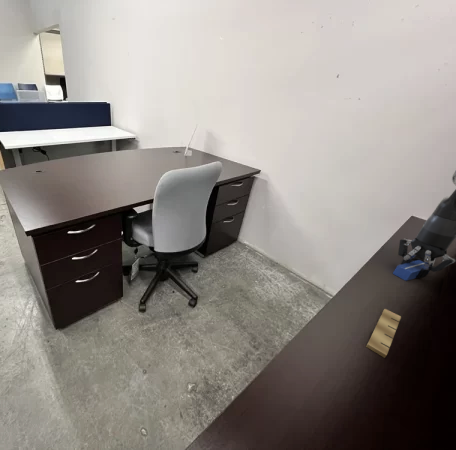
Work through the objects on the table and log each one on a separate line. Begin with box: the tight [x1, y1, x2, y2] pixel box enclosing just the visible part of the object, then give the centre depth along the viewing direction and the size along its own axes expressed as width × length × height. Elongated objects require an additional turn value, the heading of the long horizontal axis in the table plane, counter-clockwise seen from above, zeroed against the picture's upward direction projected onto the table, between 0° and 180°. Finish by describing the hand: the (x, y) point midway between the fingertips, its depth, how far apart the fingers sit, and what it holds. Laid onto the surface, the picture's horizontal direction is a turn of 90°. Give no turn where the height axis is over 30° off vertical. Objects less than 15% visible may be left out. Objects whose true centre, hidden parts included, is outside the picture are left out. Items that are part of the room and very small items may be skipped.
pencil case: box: [392, 259, 431, 282], centre depth 82 cm, size 12×4×4 cm, turn 109°
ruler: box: [365, 308, 402, 359], centre depth 61 cm, size 18×4×1 cm, turn 129°
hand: (410, 272), depth 83 cm, fingers closed on pencil case, 4 cm apart
